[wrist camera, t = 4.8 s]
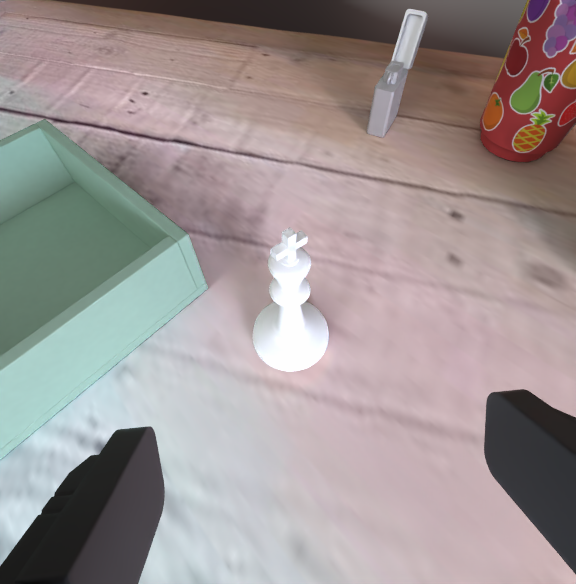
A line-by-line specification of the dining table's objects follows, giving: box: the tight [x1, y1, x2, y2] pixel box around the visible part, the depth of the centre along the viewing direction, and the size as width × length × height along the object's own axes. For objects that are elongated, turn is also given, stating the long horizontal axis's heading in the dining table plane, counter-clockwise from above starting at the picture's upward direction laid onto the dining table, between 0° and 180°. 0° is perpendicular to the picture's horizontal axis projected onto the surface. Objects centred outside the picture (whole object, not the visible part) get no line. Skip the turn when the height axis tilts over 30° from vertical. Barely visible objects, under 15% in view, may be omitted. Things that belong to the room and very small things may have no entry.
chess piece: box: [253, 228, 329, 371], centre depth 20 cm, size 5×5×10 cm
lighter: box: [367, 9, 428, 138], centre depth 33 cm, size 7×2×8 cm, turn 153°
